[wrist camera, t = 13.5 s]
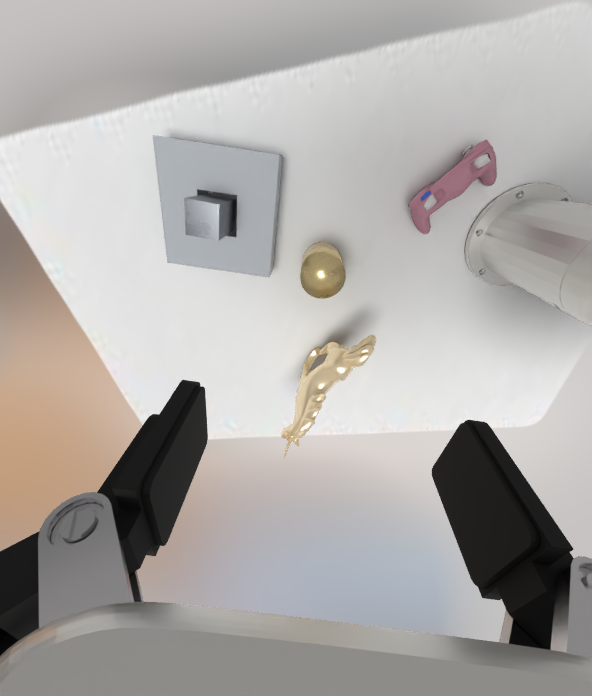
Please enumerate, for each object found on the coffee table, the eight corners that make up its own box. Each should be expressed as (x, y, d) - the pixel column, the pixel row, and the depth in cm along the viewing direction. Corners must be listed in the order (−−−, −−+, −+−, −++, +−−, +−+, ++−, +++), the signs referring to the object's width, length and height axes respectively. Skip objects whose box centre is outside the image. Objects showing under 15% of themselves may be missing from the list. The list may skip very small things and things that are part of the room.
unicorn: (356, 302, 44) (376, 366, 30) (374, 317, 45) (401, 386, 31) (280, 378, 53) (266, 455, 38) (296, 389, 54) (289, 468, 40)
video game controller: (473, 153, 34) (490, 121, 28) (496, 182, 34) (518, 157, 28) (402, 212, 38) (402, 195, 32) (421, 238, 38) (425, 227, 32)
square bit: (241, 197, 37) (219, 204, 29) (239, 226, 39) (218, 241, 31) (214, 192, 37) (184, 197, 29) (213, 221, 39) (185, 234, 30)
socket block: (282, 156, 34) (279, 154, 31) (273, 268, 42) (269, 277, 39) (168, 138, 34) (152, 135, 31) (179, 255, 42) (167, 262, 38)
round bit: (344, 245, 40) (349, 258, 34) (336, 283, 43) (340, 301, 37) (305, 239, 39) (303, 251, 34) (300, 277, 42) (297, 295, 37)
